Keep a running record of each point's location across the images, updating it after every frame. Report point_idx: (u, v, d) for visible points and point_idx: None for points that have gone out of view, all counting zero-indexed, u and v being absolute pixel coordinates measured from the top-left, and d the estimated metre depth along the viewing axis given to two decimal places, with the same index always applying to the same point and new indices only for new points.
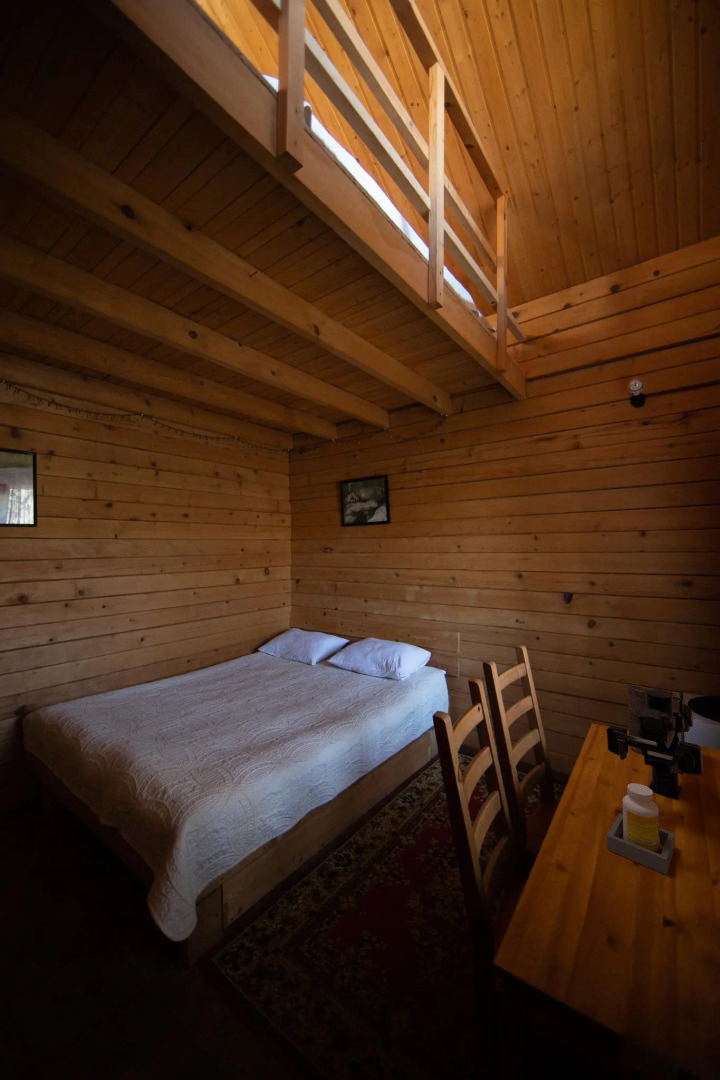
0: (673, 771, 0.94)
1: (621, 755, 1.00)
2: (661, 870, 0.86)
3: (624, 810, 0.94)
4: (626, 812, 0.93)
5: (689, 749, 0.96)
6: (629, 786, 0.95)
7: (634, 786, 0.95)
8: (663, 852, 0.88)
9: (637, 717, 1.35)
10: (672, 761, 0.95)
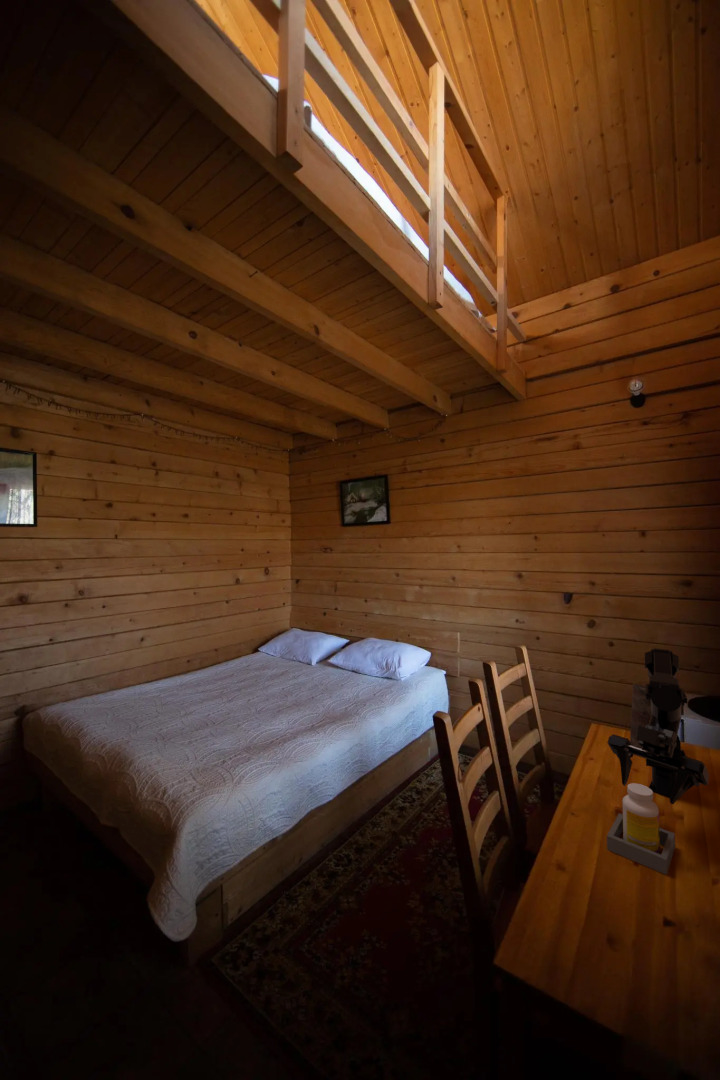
0: (675, 800, 0.92)
1: (623, 783, 0.99)
2: (661, 870, 0.86)
3: (624, 810, 0.94)
4: (626, 812, 0.93)
5: (690, 773, 0.92)
6: (629, 786, 0.95)
7: (634, 786, 0.95)
8: (663, 852, 0.88)
9: (640, 716, 1.35)
10: (673, 790, 0.93)
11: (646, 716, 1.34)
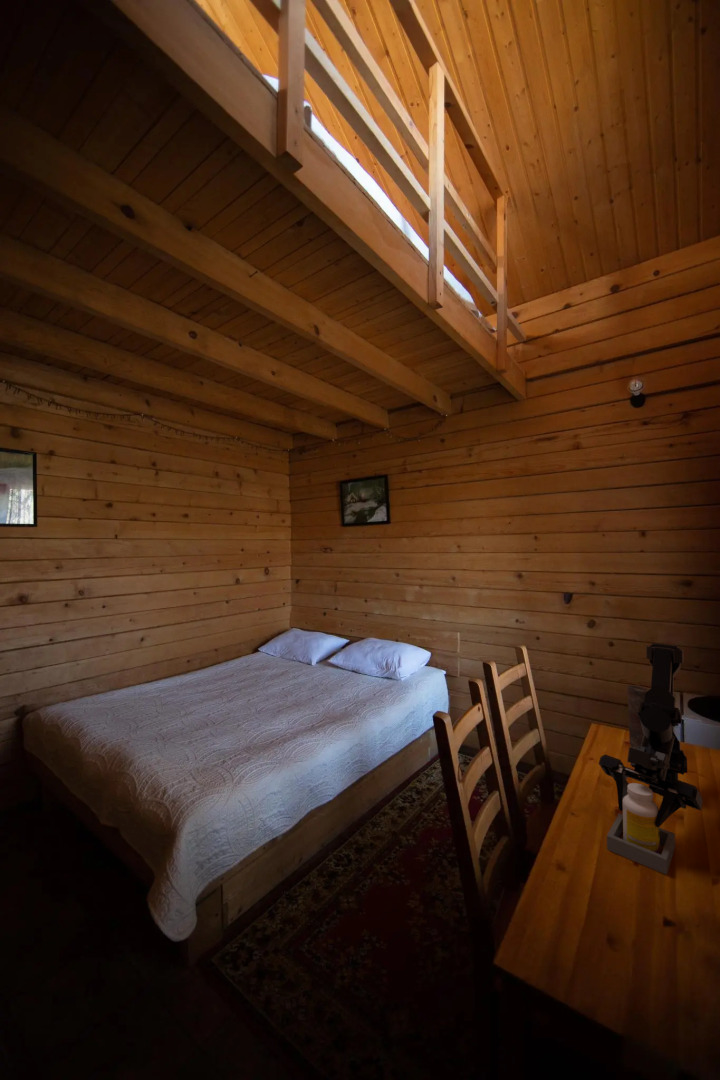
0: (661, 823, 0.90)
1: (620, 808, 0.95)
2: (661, 870, 0.86)
3: (624, 810, 0.94)
4: (626, 812, 0.93)
5: (677, 796, 0.89)
6: (629, 786, 0.95)
7: (634, 786, 0.95)
8: (663, 852, 0.88)
9: (637, 717, 1.35)
10: (659, 813, 0.90)
11: None
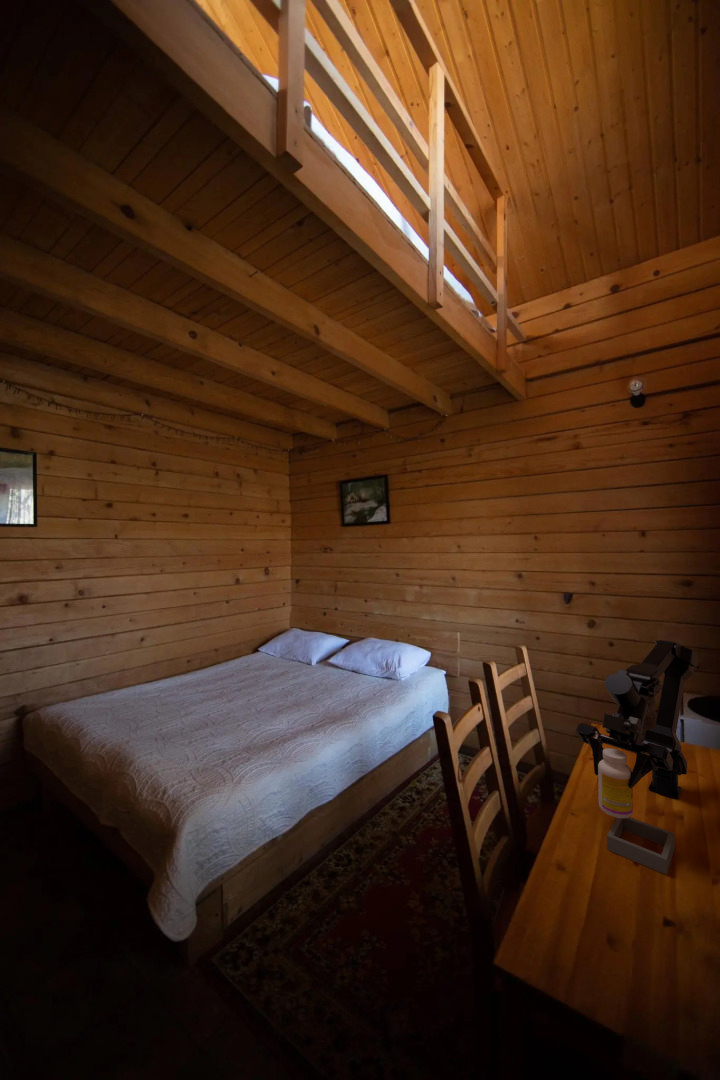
0: (634, 784, 0.94)
1: (595, 773, 0.99)
2: (661, 870, 0.86)
3: (599, 774, 0.97)
4: (601, 775, 0.96)
5: (649, 757, 0.93)
6: (604, 750, 0.98)
7: (609, 751, 0.98)
8: (663, 852, 0.88)
9: None
10: (632, 775, 0.94)
11: None
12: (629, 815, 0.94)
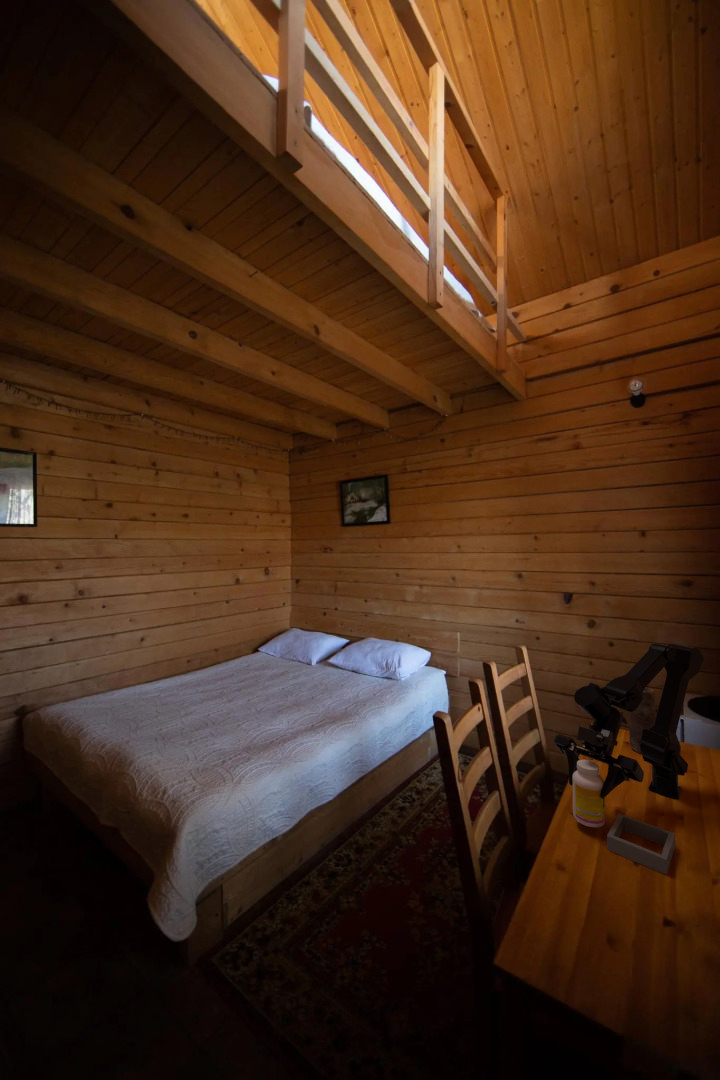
0: (606, 795, 0.98)
1: (570, 783, 1.03)
2: (661, 870, 0.86)
3: (573, 784, 1.01)
4: (575, 785, 1.00)
5: (619, 769, 0.97)
6: (578, 762, 1.02)
7: (583, 762, 1.02)
8: (663, 852, 0.88)
9: (637, 717, 1.35)
10: (604, 785, 0.98)
11: (643, 717, 1.34)
12: (600, 824, 0.98)
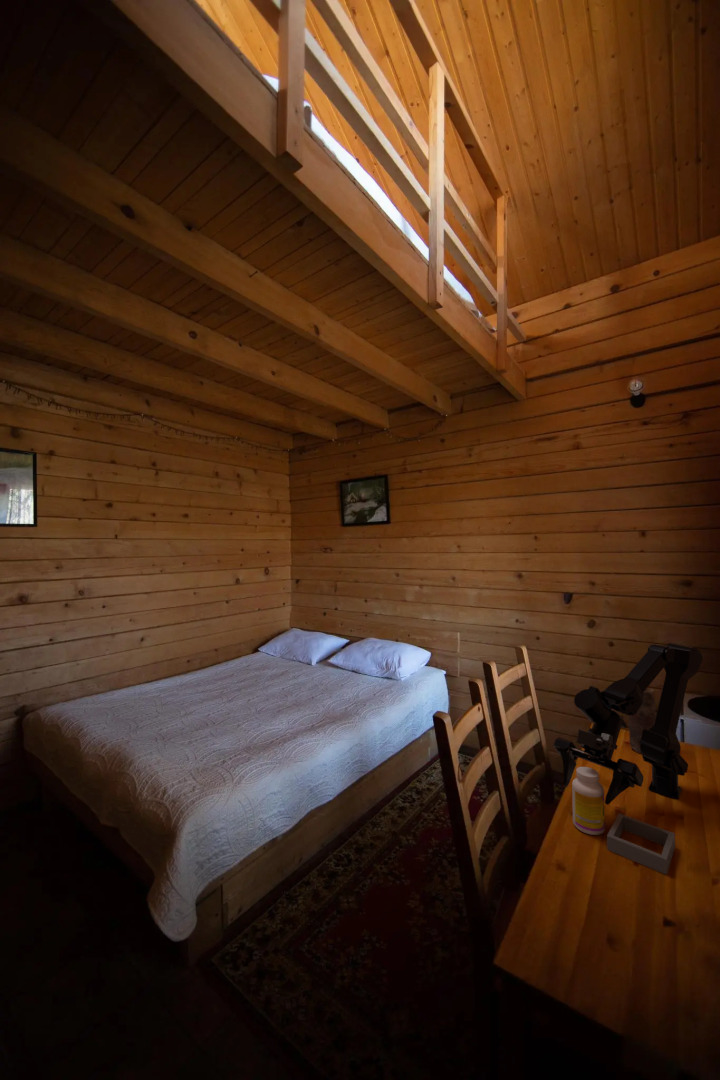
0: (610, 801, 0.97)
1: (564, 784, 1.03)
2: (661, 870, 0.86)
3: (573, 791, 1.01)
4: (574, 793, 1.00)
5: (624, 775, 0.96)
6: (578, 769, 1.02)
7: (583, 769, 1.02)
8: (663, 852, 0.88)
9: (637, 717, 1.35)
10: (609, 791, 0.97)
11: (643, 717, 1.34)
12: (600, 832, 0.98)
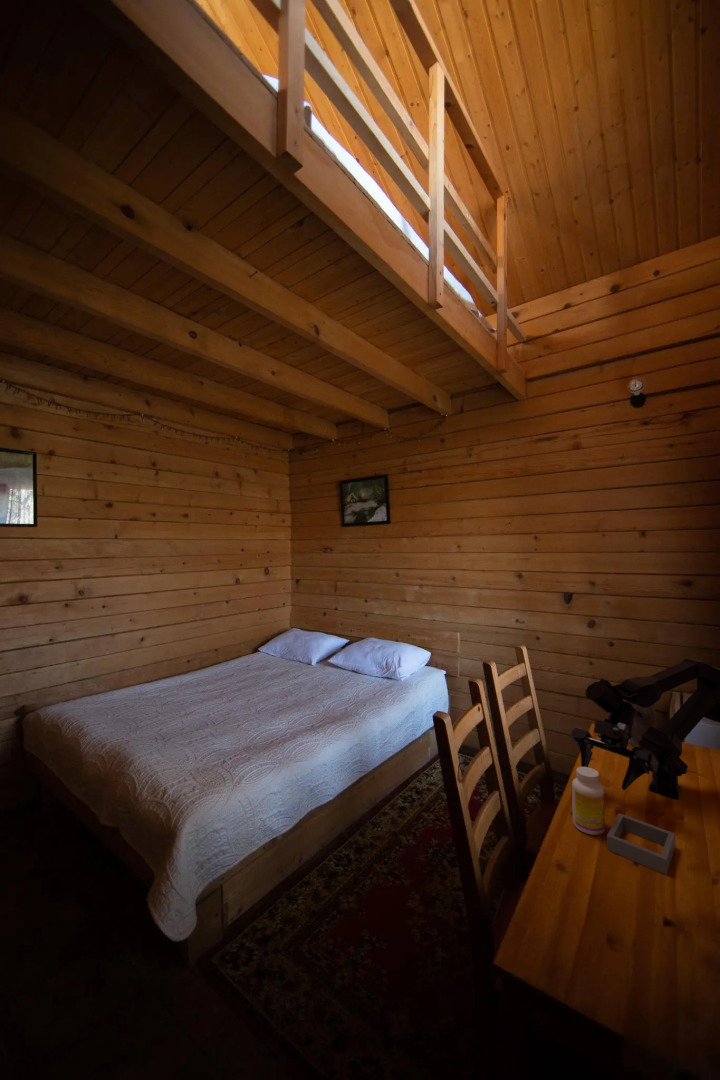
0: (627, 786, 1.02)
1: None
2: (661, 870, 0.86)
3: (573, 791, 1.01)
4: (574, 792, 1.00)
5: (640, 762, 1.01)
6: (578, 769, 1.02)
7: (583, 769, 1.02)
8: (663, 852, 0.88)
9: None
10: (625, 777, 1.02)
11: (643, 717, 1.34)
12: (600, 832, 0.98)
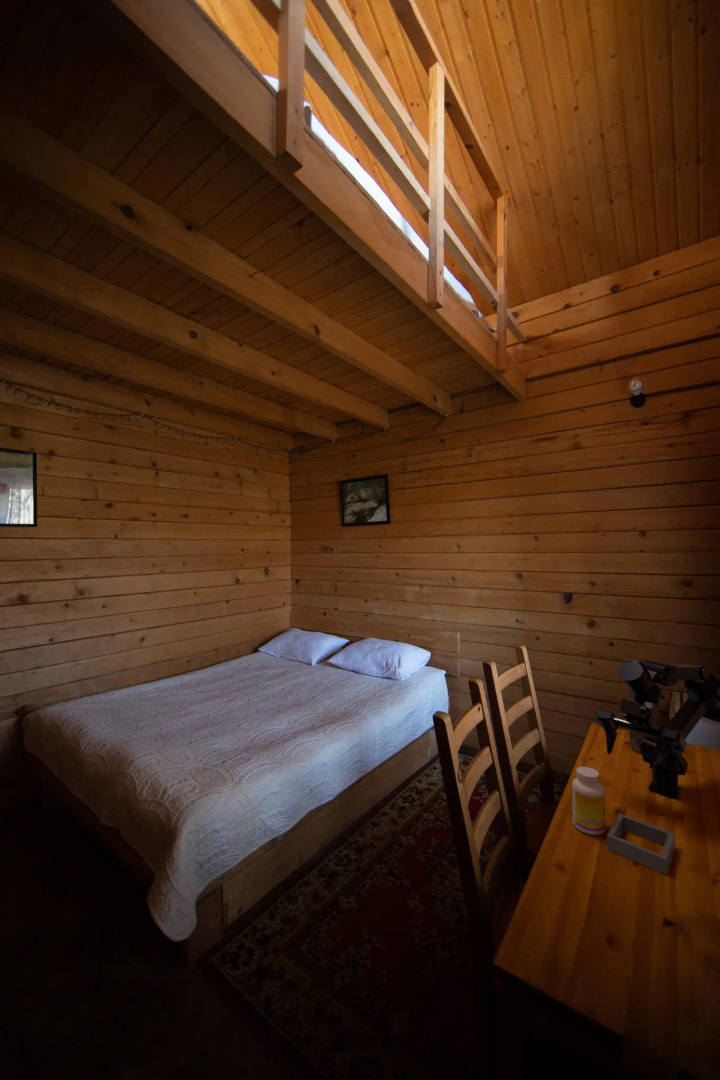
0: (655, 765, 1.01)
1: (608, 752, 1.08)
2: (661, 870, 0.86)
3: (573, 791, 1.01)
4: (574, 793, 1.00)
5: (669, 740, 1.00)
6: (578, 769, 1.02)
7: (583, 769, 1.02)
8: (663, 852, 0.88)
9: None
10: (653, 756, 1.01)
11: None
12: (600, 832, 0.98)
